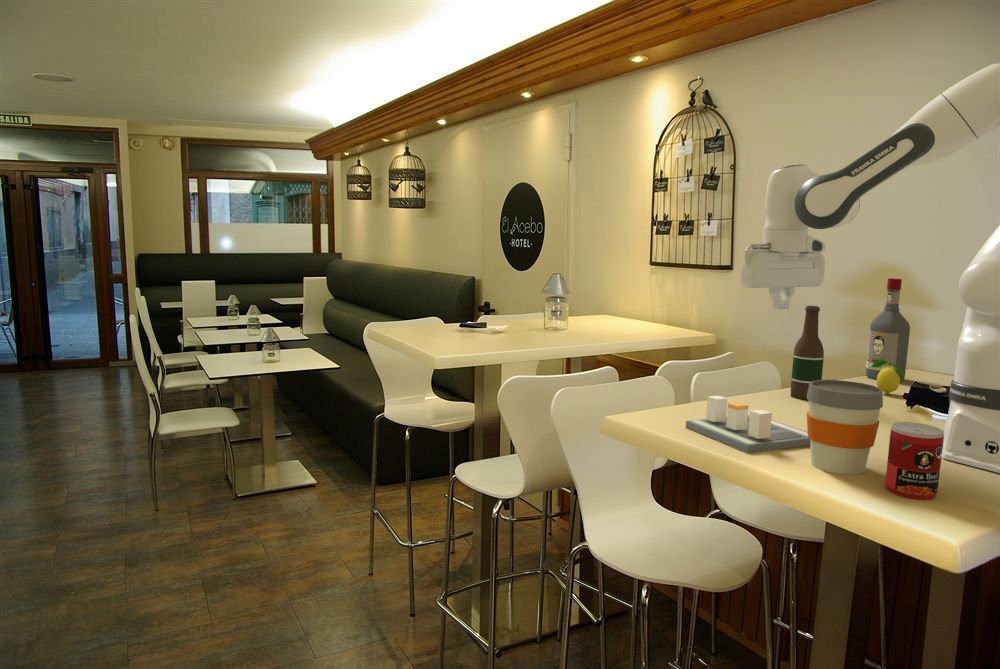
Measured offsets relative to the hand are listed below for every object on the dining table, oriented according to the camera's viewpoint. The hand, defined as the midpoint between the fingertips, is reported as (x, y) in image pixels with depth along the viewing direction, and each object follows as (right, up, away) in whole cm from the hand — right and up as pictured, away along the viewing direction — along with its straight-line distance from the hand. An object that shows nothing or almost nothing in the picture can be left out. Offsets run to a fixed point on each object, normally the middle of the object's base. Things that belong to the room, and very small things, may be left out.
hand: (780, 308), depth 156 cm
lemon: (+44, -22, +41) cm, 64 cm away
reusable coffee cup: (+2, -30, -23) cm, 38 cm away
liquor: (+55, -19, +63) cm, 86 cm away
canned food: (+8, -32, -35) cm, 48 cm away
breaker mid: (-11, -25, -5) cm, 28 cm away
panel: (-8, -27, -3) cm, 28 cm away
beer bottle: (+20, -22, +35) cm, 46 cm away
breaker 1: (-14, -24, +1) cm, 28 cm away
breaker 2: (-9, -26, -11) cm, 29 cm away
